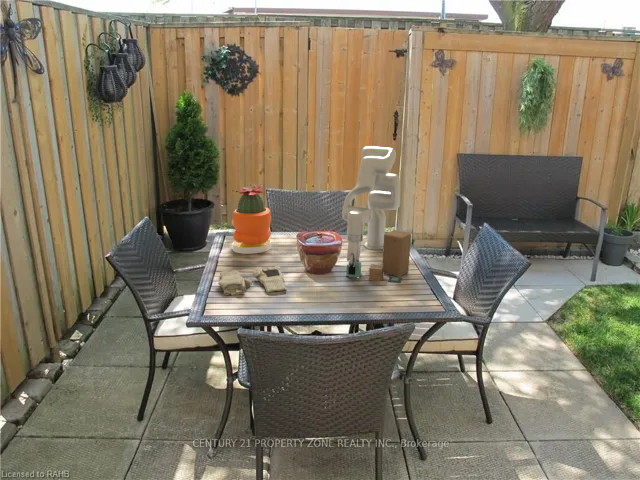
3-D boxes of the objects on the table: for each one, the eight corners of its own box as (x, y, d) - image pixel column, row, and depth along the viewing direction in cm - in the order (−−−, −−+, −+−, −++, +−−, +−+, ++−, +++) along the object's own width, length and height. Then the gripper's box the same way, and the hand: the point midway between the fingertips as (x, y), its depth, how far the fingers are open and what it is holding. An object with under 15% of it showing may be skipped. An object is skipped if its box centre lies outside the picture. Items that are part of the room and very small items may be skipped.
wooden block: (399, 277, 257) (401, 238, 251) (381, 272, 263) (383, 233, 257) (409, 271, 265) (412, 233, 258) (391, 267, 270) (393, 229, 264)
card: (389, 277, 258) (389, 276, 258) (401, 278, 256) (402, 277, 256) (387, 281, 252) (387, 280, 252) (400, 283, 251) (400, 282, 251)
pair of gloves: (282, 273, 262) (281, 262, 260) (287, 294, 238) (287, 283, 236) (219, 275, 257) (218, 265, 255) (218, 298, 233) (217, 286, 231)
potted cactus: (228, 245, 297) (225, 183, 286) (266, 241, 306) (265, 180, 295) (239, 258, 279) (237, 192, 268) (280, 253, 288) (279, 188, 277)
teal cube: (348, 272, 263) (349, 260, 261) (360, 273, 262) (361, 262, 260) (346, 276, 258) (346, 265, 256) (358, 278, 256) (359, 266, 254)
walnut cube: (370, 275, 260) (371, 263, 258) (383, 276, 258) (383, 265, 257) (368, 279, 254) (369, 268, 252) (381, 281, 253) (382, 269, 251)
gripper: (350, 231, 262) (349, 264, 268) (343, 241, 246) (342, 276, 252) (365, 232, 261) (364, 265, 266) (359, 243, 245) (358, 278, 250)
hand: (353, 270), depth 259 cm, fingers open, 9 cm apart
